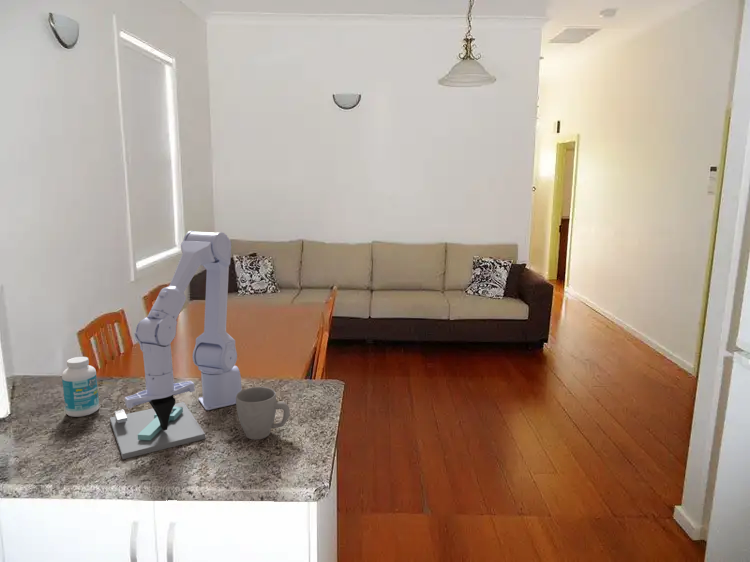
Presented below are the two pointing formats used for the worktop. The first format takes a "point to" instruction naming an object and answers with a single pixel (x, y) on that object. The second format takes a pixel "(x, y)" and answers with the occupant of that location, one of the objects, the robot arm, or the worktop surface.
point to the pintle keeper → (122, 416)
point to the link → (157, 425)
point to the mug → (259, 411)
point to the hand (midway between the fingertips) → (163, 428)
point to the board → (176, 434)
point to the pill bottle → (80, 387)
